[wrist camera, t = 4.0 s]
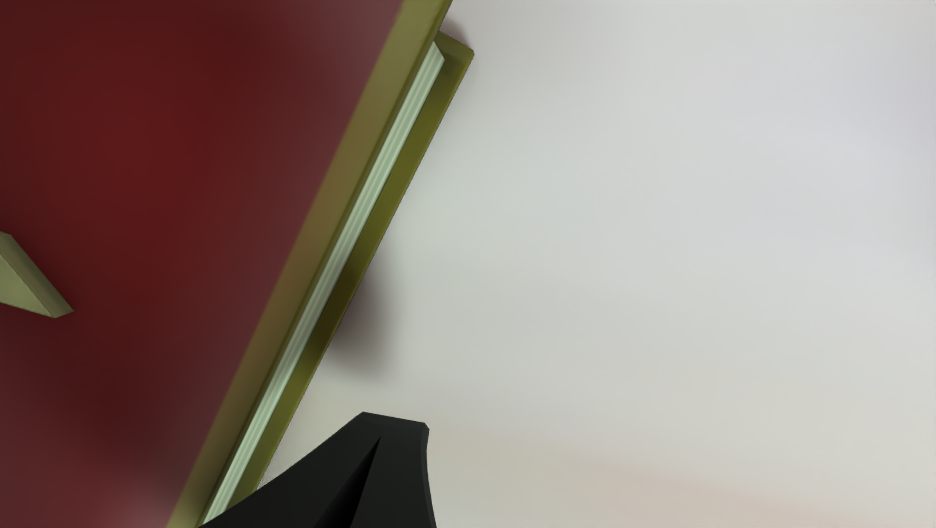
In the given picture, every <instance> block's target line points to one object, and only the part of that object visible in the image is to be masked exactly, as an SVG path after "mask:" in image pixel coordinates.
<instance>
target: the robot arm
mask: <svg viewBox="0 0 936 528" xmlns="http://www.w3.org/2000/svg"><path fill="white" fill-rule="evenodd" d="M428 436H429V428H428V427H427V425H426V424H425V423H423V422H417V421H412V420H406V419H401V418H395V417H389V416H384V415H378V414H373V413H367V412H362V413H360V414H359V415H357V416H356V417H355V418H353V419H352V420H351V421H349V422H348V423H347V424H346V425H345V426H343V427H342V428H341V429H340V430H338V431H337V432H336V433H335V434H333V435H332V436H331V437H330V438H328V439H327V440H326V441H324V442H323V443H322V444H321V445H319V446H318V447H317V448H315V449H314V450H313V451H311V452H310V453H309V454H307V455H306V456H305V457H303V458H302V459H301V460H299V461H298V462H297V463H295V464H294V465H293V466H291V467H290V468H289V469H287V470H286V471H284V472H283V473H282V474H280V475H279V476H277V477H276V478H275V479H273V480H272V481H270V482H269V483H267V484H266V485H264V486H263V487H261V488H260V489H258V490H257V491H255V492H254V493H252V494H251V495H249V496H248V497H246V498H245V499H243V500H242V501H240V502H239V503H237V504H236V505H234V506H233V507H231V508H229V509H228V510H226V511H225V512H223V513H221V514H220V515H218V516H216V517H215V518H213V519H211V520H210V521H208V522H206V523H205V524H203V525H201V526H199V527H198V528H437V527H436V522H435V517H434V512H433V507H432V500H431V494H430V487H429V481H428V471H427V443H428Z"/></svg>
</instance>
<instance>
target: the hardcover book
mask: <svg viewBox="0 0 936 528" xmlns="http://www.w3.org/2000/svg"><path fill="white" fill-rule="evenodd" d="M452 1H453V0H0V528H198V527H199V526H201V525H203V524H205V523H206V522H208V521H210V520H211V519H213V518H215V517H216V516H218V515H220V514H221V513H223V512H225V511H226V510H228V509H229V508H231V507H233V506H234V505H236V504H237V503H239V502H240V501H242V500H243V499H245V498H246V497H248V496H249V495H251V494H252V493H254V492H255V491H256V489H257V487H258V485H259V483H260V481H261V479H262V477H263V475H264V473H265V471H266V469H267V467H268V465H269V463H270V461H271V459H272V457H273V455H274V453H275V451H276V449H277V447H278V445H279V443H280V441H281V439H282V437H283V435H284V433H285V431H286V429H287V427H288V425H289V423H290V421H291V419H292V417H293V415H294V413H295V411H296V409H297V407H298V405H299V403H300V401H301V399H302V397H303V395H304V393H305V391H306V389H307V387H308V385H309V383H310V381H311V379H312V377H313V375H314V373H315V371H316V369H317V367H318V365H319V363H320V361H321V359H322V357H323V355H324V353H325V351H326V349H327V347H328V345H329V343H330V341H331V339H332V337H333V335H334V333H335V331H336V329H337V327H338V325H339V323H340V322H341V320H342V318H343V316H344V314H345V312H346V310H347V308H348V306H349V304H350V302H351V300H352V298H353V296H354V294H355V292H356V290H357V288H358V286H359V284H360V282H361V280H362V278H363V276H364V274H365V272H366V270H367V268H368V266H369V264H370V262H371V260H372V258H373V256H374V254H375V252H376V250H377V248H378V246H379V244H380V242H381V240H382V238H383V236H384V234H385V232H386V230H387V228H388V226H389V224H390V222H391V220H392V218H393V216H394V214H395V212H396V210H397V208H398V206H399V204H400V202H401V200H402V198H403V196H404V194H405V192H406V190H407V188H408V186H409V184H410V182H411V180H412V178H413V176H414V174H415V172H416V170H417V168H418V166H419V164H420V162H421V160H422V158H423V156H424V154H425V152H426V150H427V148H428V146H429V144H430V142H431V140H432V138H433V136H434V134H435V132H436V130H437V128H438V126H439V124H440V122H441V120H442V118H443V116H444V114H445V112H446V110H447V108H448V106H449V105H450V103H451V101H452V99H453V97H454V95H455V93H456V91H457V89H458V87H459V85H460V83H461V81H462V79H463V77H464V75H465V73H466V71H467V69H468V67H469V65H470V63H471V61H472V59H473V57H474V51H473V50H472V49H470V48H468V47H467V46H465V45H463V44H461V43H460V42H458V41H456V40H454V39H453V38H451V37H449V36H447V35H446V34H444V33H442V32H440V31H439V28H440V26H441V24H442V22H443V19H444V17H445V15H446V13H447V11H448V9H449V7H450V5H451V3H452Z"/></svg>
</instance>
